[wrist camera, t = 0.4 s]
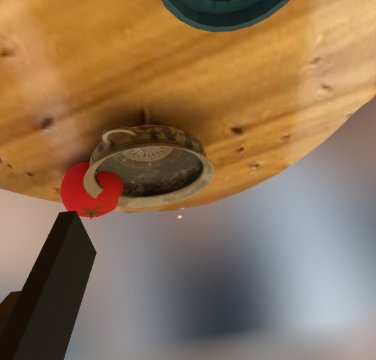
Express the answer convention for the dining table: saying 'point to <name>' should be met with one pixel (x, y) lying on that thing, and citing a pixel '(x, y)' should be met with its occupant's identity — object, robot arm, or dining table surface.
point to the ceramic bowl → (150, 165)
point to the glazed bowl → (222, 12)
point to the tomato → (81, 199)
